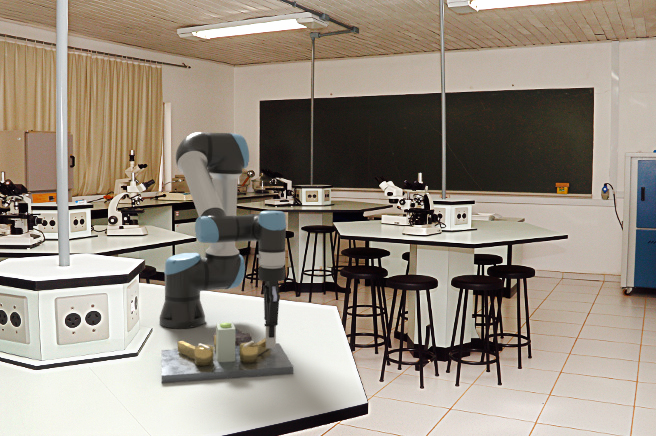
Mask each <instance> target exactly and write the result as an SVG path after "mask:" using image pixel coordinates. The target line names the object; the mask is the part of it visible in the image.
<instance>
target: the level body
mask: <svg viewBox="0 0 656 436" xmlns="http://www.w3.org/2000/svg"><path fill="white" fill-rule="evenodd" d="M215 327H216V328H215V331H216V357H217V361H218V362H231V361H235V329H236V326H235V324H234V323H233V322H221V323H216V324H215Z"/></svg>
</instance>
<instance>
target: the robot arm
mask: <svg viewBox="0 0 656 436" xmlns="http://www.w3.org/2000/svg"><path fill="white" fill-rule="evenodd" d="M249 162H250V152H249V145H248V143H247V140H246V139H245V137H244V136H243V135H242V134H238V133H233V132H205V131H197V132H193V133H190V134H188V135H187V136H186V137H185V138H183V139H182V140H181V141H180V144H179V145H178V146H177V149H176V152H175V164H176V166H177V168H178V171H179V172H180V173H181V174H182V175H183V176H184V179H185V182H186V184H187V187H188V189H189V193H190V195H191V198H192V201H193V203H194V206H195V210H196V213H197V215H198V217H197V218H196V220H195V224H194V225H195V226H194V231H195V237H196V239H197V240H198V242H199V243H206V244H207V243H209V247H208V248H207V249H205V255H204V256H201V254H200V253H198V252H183V253H178V254H175V255H174V254H173V255H172V256H169V257H168V258H167V259H166V260H165V264H164V272H163V273H164V302H163V306H162V308H161V311H160V315H159V325H161V326H162V327H164V328H169V329H190V328H196V327H200V326H202V325H203V324H205V322H206V315H205V310H204V309H203V304H202V302H201V292H203V291H205V292H206V291H216V290H229V289H235V288H237V287H240V285H241V284H242V282H243V280H244V278H245V273H246V271H245V270H246V265H245V259H244V256H243V255H241V254H240V250H239V249H238V248H237V247H236V242H238V243H239V242H258V254H256V259H257V258H258V265H259V267H257V269H258V271H257V272H258V273H257V274H258V275H257V278H258V280H259V281H261V282H265V284H264V285H263V287H262V290H263V300H264V301H263V308H264V310H263V311H264V312H263V313H264V317H263V318H264V319H263V320H264V327H265V338H266V341H265V347H266V348H276V342H277V340H276V339H277V334H276V333H277V326H278V324H279V322H278V320H279V308H280V306H279V305H280V298H281V295H280V286H278V282H282V281H285V279H286V267H285V265H286V238H287V234H286V233H287V232H286V231H287V230H286V229H287V223H286V221H287V220H286V219H287V218H286V217H287V216H286V213H285V212H284V211H281V210H263V211H260V212H259V213H251V214H248V215H237V207H238V206H237V205H238V204H237V203H238V179H239V178H240V177H241V176H242V175H243V169H246V168H248V166H249Z"/></svg>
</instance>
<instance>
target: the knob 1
mask: <svg viewBox="0 0 656 436" xmlns="http://www.w3.org/2000/svg"><path fill="white" fill-rule="evenodd" d="M177 349H178V352H180V353H182V354H184V355H186V356H189V357H191V358H193V359H195V364H197V365H210V364H212V363H213V362H214V345H212V344H204V343H198V345H197V346H196V345H193V344H190V343H188V342H186V341H184V340H180V341H177Z"/></svg>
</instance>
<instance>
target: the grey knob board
mask: <svg viewBox="0 0 656 436" xmlns="http://www.w3.org/2000/svg"><path fill="white" fill-rule="evenodd" d="M213 336H214V335H213ZM213 347H214V362H213V363H212V364H210V365H197V364H195V359H193V358H191V357H189V356H186V355H184V354H182V353H180V352H178V348H177V349H176V348H175V349H174V348H173V349H172V348H171V349H161V351H160V352H161V358H160V359H161V384H169V383H181V382H197V381H208V380H209V381H210V380H225V379H227V380H228V379H239V378H252V377H253V378H255V377H264V376H265V377H268V376H280V375H282V376H283V375H293V374H294V365H293V364H292V362H291V359H289V357H288V355H287V354H286V352H285V351H284V348H283V347H282V345H281V344H280V343H276V348H269V349H267V350H265V351H264V352H262V353H261V354H259V355H258V360H257V361H255V362H242V361H240V360H239V353H240V346H235V361H231V362H218V361H217V357H216V335H215V336H214V339H213Z"/></svg>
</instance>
